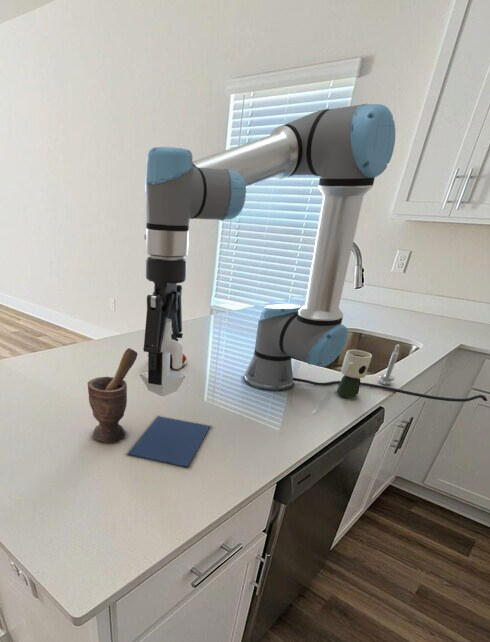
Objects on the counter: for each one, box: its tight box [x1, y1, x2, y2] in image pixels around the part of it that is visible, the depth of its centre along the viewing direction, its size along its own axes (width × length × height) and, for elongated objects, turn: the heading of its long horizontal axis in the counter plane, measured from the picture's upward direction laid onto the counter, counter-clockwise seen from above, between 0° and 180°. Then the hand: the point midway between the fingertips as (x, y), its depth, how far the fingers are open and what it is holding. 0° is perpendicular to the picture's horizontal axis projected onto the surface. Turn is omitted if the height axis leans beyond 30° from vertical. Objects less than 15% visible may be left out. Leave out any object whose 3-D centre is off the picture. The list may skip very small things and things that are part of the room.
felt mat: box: [127, 416, 211, 468], centre depth 96 cm, size 14×20×1 cm
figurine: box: [138, 318, 187, 398], centre depth 84 cm, size 7×9×15 cm
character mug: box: [336, 349, 373, 399], centre depth 120 cm, size 11×7×13 cm, turn 136°
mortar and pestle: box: [86, 347, 138, 443], centre depth 92 cm, size 12×9×20 cm
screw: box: [378, 343, 401, 386], centre depth 130 cm, size 13×5×5 cm
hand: (163, 375), depth 86 cm, fingers closed on figurine, 9 cm apart
